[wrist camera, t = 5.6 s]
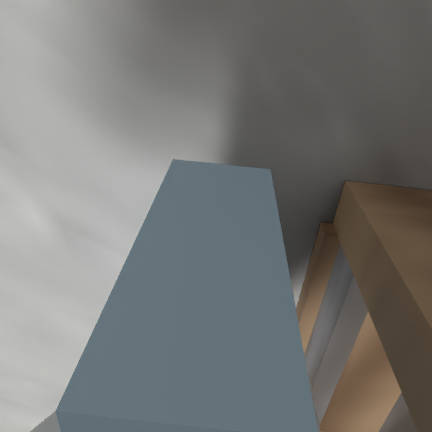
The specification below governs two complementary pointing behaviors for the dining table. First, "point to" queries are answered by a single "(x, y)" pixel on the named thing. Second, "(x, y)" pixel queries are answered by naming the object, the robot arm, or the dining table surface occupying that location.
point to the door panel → (198, 318)
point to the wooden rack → (371, 312)
